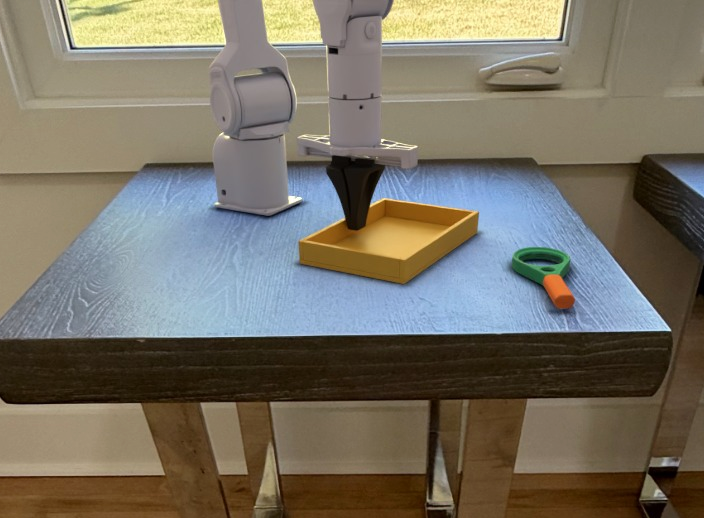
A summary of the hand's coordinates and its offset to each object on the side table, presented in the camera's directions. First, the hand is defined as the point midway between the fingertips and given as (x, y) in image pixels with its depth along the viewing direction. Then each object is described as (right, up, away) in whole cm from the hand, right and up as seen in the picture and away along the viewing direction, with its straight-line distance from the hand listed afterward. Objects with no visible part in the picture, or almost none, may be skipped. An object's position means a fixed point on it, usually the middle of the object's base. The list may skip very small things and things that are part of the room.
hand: (356, 227), depth 83 cm
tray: (+4, -3, -1) cm, 5 cm away
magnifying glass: (+20, -10, -10) cm, 24 cm away
